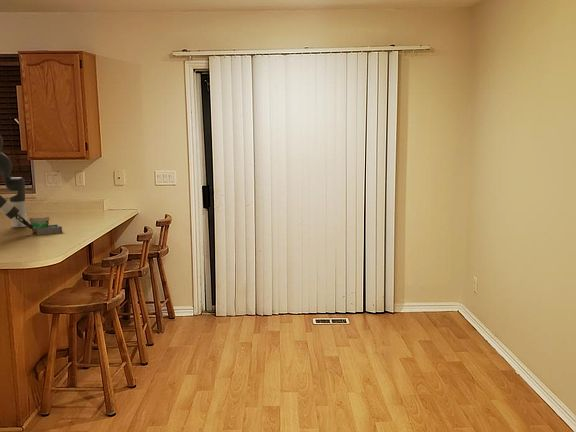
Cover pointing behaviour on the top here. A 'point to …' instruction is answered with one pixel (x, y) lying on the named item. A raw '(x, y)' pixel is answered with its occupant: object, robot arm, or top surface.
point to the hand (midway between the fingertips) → (31, 227)
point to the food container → (39, 223)
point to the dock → (50, 229)
